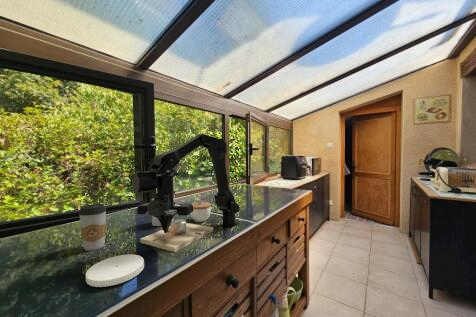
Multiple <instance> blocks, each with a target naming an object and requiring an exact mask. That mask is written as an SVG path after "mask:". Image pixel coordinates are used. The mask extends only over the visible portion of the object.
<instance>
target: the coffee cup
mask: <svg viewBox="0 0 476 317" xmlns="http://www.w3.org/2000/svg"><path fill="white" fill-rule="evenodd" d="M106 214H107V206H106V205H105V204H104V203H93V204H87V205H83V206H80V209H79V211H78V215H79V223H80V230H81V239H82V245H83V249H84V250H85V251H87V252H88V251H96V250H99V249H101V248H103V247H104V246H105V245H106V244H105V241H106V228H107V227H106V226H107V225H106V224H107V223H106V221H107V220H106V219H107V218H106Z"/></svg>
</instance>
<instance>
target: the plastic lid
mask: <svg viewBox="0 0 476 317" xmlns="http://www.w3.org/2000/svg"><path fill="white" fill-rule="evenodd" d="M144 268H145V260H144V258H143V257H142V256H141V255H138V254H128V253H127V254H121V255H119V254H118V255H116V256H111V257H107V258H106V259H103V260H100V261H99V262H97V263H95V264H93V265H92V266H91V267H89V268H88V269H87V270H86V272H85V282H86V284H87V285H89V286H90V287H95V288H98V287H99V288H104V287H105V288H106V287H109V286H110V287H112V286H115V285H120V284H122V283H125V282H127V281H129V280H131V279H133V278H135V277H137V276H139V274H140V273H142V271H143V270H144Z"/></svg>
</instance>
